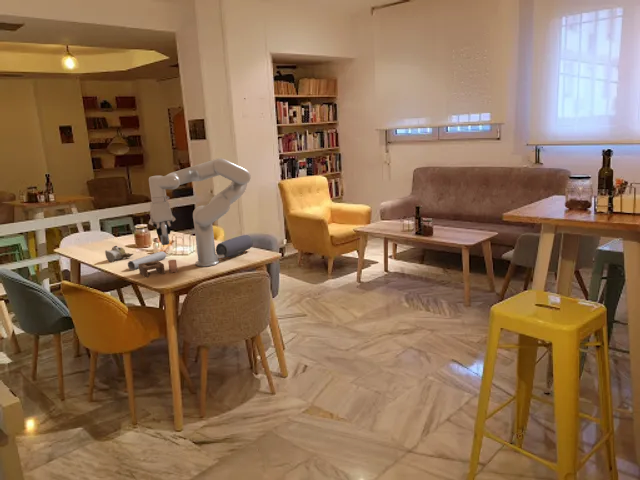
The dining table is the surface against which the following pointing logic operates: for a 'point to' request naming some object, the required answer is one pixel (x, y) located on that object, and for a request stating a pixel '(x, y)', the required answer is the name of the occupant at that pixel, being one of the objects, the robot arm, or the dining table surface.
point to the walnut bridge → (151, 267)
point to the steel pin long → (164, 233)
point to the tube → (146, 260)
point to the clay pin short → (172, 266)
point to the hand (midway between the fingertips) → (164, 234)
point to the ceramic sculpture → (116, 254)
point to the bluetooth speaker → (234, 246)
